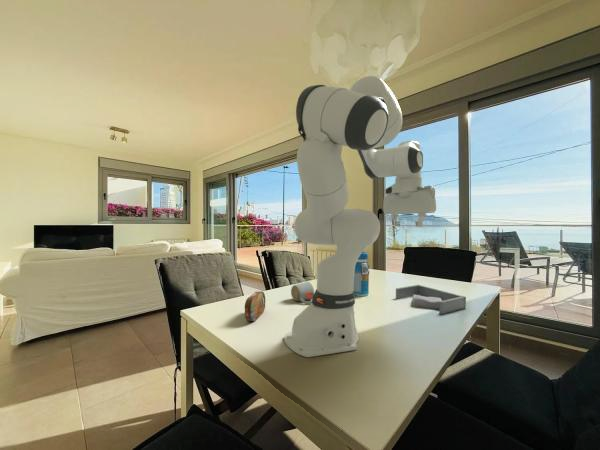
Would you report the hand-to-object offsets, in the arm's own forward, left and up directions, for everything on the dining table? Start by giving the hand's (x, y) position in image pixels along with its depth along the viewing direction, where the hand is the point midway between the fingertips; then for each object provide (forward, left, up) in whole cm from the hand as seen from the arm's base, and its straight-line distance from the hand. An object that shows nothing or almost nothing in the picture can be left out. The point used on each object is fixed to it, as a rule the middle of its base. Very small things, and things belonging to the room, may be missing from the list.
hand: (407, 226), depth 95 cm
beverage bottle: (+6, +32, -34) cm, 46 cm away
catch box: (+23, +8, -33) cm, 41 cm away
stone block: (+21, +6, -34) cm, 40 cm away
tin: (-48, +27, -34) cm, 65 cm away
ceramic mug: (-23, +35, -34) cm, 54 cm away
